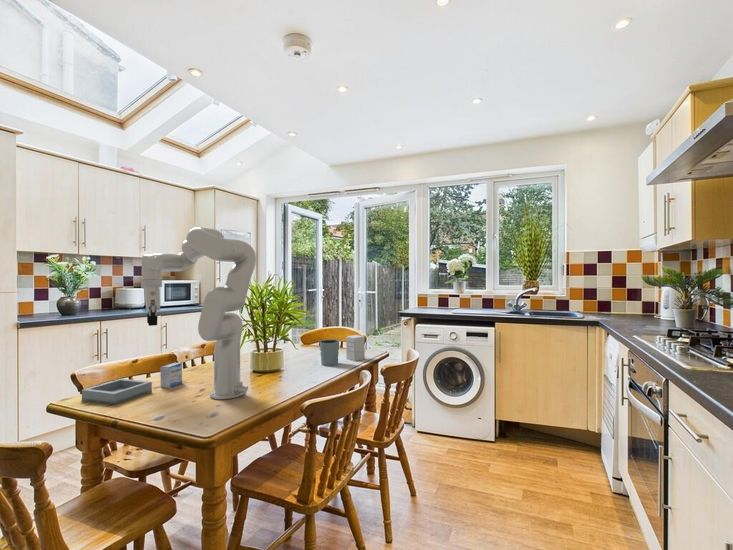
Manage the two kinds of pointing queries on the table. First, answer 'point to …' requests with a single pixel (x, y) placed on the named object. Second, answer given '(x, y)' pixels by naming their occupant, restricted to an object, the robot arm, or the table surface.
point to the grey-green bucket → (329, 352)
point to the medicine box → (171, 375)
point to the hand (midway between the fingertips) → (152, 324)
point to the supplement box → (355, 347)
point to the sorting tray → (116, 391)
